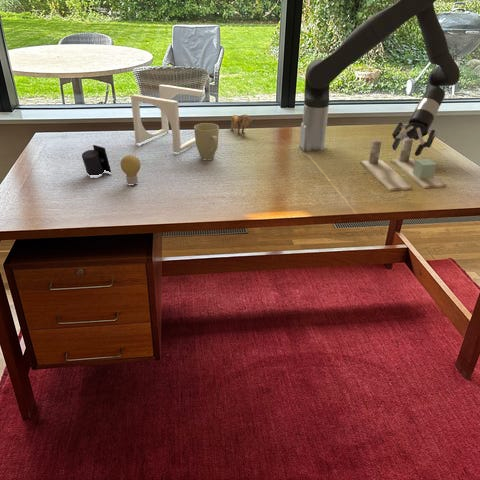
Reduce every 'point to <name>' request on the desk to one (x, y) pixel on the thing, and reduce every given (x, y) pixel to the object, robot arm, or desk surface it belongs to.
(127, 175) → the light bulb
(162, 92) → the cream frame stand
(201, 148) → the mug
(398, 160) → the block strip
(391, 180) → the empty strip
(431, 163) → the sage block
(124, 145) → the desk surface
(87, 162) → the speaker
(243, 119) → the lion figurine
